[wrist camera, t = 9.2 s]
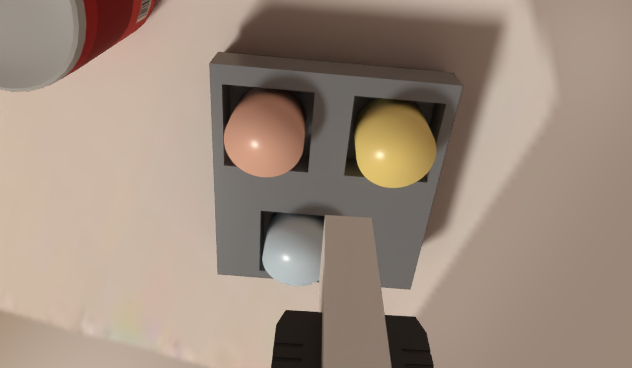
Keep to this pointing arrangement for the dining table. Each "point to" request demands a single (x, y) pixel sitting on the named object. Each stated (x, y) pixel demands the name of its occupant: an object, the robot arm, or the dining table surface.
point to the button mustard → (393, 143)
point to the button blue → (294, 248)
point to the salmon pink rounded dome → (266, 132)
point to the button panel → (325, 158)
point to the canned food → (60, 36)
